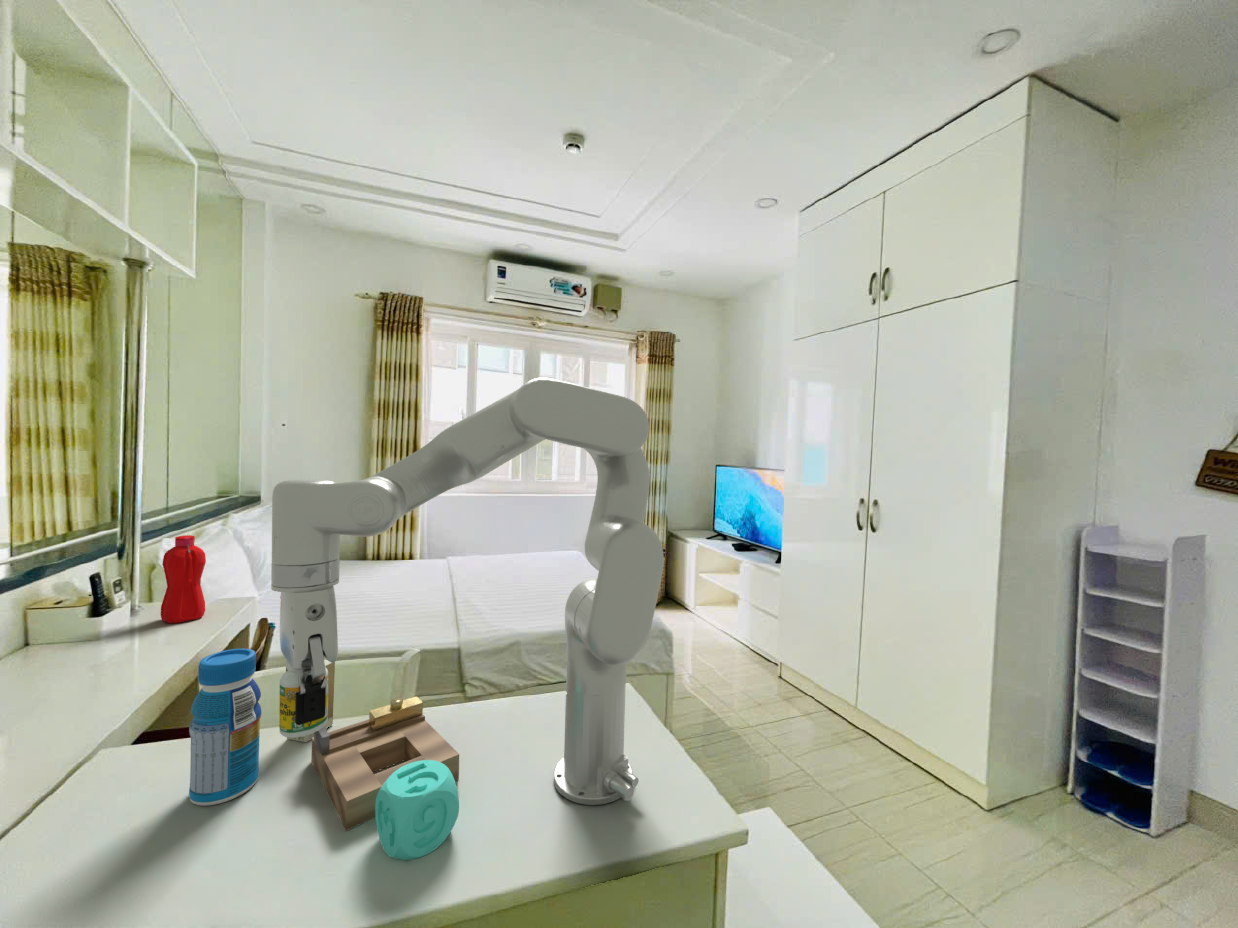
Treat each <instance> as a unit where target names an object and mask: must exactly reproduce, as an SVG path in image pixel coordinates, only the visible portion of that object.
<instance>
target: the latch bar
mask: <svg viewBox="0 0 1238 928" xmlns="http://www.w3.org/2000/svg"><path fill="white" fill-rule="evenodd" d="M423 710H424V702H423V701H422V700H421V699H420V698H419V697H418V696H413V697H409V698H406V699H403V698H401V697H398V698H393V699H391V700H390V704H388V705H384V706H380V707H377V708H375V709H371V710H369V714H368V715H369V716H368V717H369V718H368V719H369V726H370V727H371V728H372V730H373V731H377V730H380V729H383V728H386V727H389V726H392V725H395V724H398V723H401V722H403V721H406V720H409V719H412V718H415V717H418V716H421V715H424V713H423Z"/></svg>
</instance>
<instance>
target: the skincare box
mask: <svg viewBox="0 0 1238 928" xmlns="http://www.w3.org/2000/svg"><path fill="white" fill-rule="evenodd" d="M324 663H325V667H326V668H327V670H328V720H327V723H326V724H325V726H324V727H325V729H326V730H328V729H329V728H331V727H332V726H333V725H332V724H334V723H333V722H334V701H335V698H334V697H335V673H336V672H335V670H336V661H335V662H333V663H332V662H329V661H328V660H327V659H326V658H324ZM331 725H332V726H331ZM330 726H331V727H330ZM328 727H329V728H328ZM327 728H328V729H327ZM312 737H314V733H312V734H309V735H306V736H301V737H293V738H291V737H286V739H287V740H291V741H295V742H296V741H298V742H303V743H304V742H305V743H308V742H309V741H310V740H311V741H312Z"/></svg>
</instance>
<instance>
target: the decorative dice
mask: <svg viewBox="0 0 1238 928" xmlns="http://www.w3.org/2000/svg"><path fill="white" fill-rule="evenodd" d="M459 799H460V797H459V791H458V787H457V783H456V781H455V780H454V778H453V775H452V773H451V771H450V770H449V768H448V767H447V766H446V765H444V764H443V763H441V762H438V761H434V760H421V761H416V762H412V763H409V764H407V765H404V766H402V767H401V768H399V769H397V770H396V771H395V772H394V773H393V774H392V775H391V776H390V777H389V778H388V779H387V780H386V781H385V782H384V784H383V785H382V787H381V788H380V790H379V792H378V794H377V797H376V803H375V816H376V817H375V822H376V824H375V825H376V830H377V833H378V837H379V841H380V843H381V846H382V848H383V850H384V851H385V853H386V855H387V856H389V857H391V858H393V859H396V860H399V861H400V860H401V861H410V860H415V859H420V858H421V857H424V856H427V855H428V854H430V853H432V852H434V851H435V850H436V849H437V848H438V847H439V846H441V844H443V842H444V841H446V839H447V838H448V837H449V835H450V834H451V832H452V830H453V828H454V826H455V825H456V821H457V819H458V817H459V811H460V800H459Z"/></svg>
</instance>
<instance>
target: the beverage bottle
mask: <svg viewBox="0 0 1238 928" xmlns="http://www.w3.org/2000/svg"><path fill="white" fill-rule="evenodd" d="M256 660H257V655H256V652H255V650H253V649H250V648H231V649H226V650H222V651H218V652H214V653H212V654H208V655H207V656H205V657H203V658H202V659H200V662H199V663H198V673H197V677H198V679H197V680H198V681H197V682H198V684H199V686H200V687H201V689H200V690H199V691H198V693H197V694H196V696H195V697H194V700H192V701H193V702H192V704H191V707H190V713H191V715H192V716H193V718H192V719H191V721H190V723H189V728H188V729H189V730H188V732H189V736H190V766H189V767H190V768H189V769H190V770H189V771H190V772H189V773H190V776H189V789H188V797H189V800H190V802H191V803H192V804H195V805H197V806H203V807H204V806H213V805H219V804H222V803H225V802H226V803H227V802H228V801H231V800H233V799H236V798H238V797H239V796H241V795H243V794H245V793H246V792H247V791H249V790H251V788H253V786H255V784H256V783H257V781H258V780H259V776H260V775H259V774H260V768H259V764H260V763H259V761H260V759H259V758H260V757H259V756H260V734H261V733H260V729H261V717H262V706H261V704H260V703H259V701H260V699H261V697H262V694H261V693H262V692H261V688H260V687H259V685H258V682H256V681H255V680H254V678H252V677H253V676H254V675H255V673H256V668H257V667H256V665H257V661H256Z"/></svg>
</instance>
